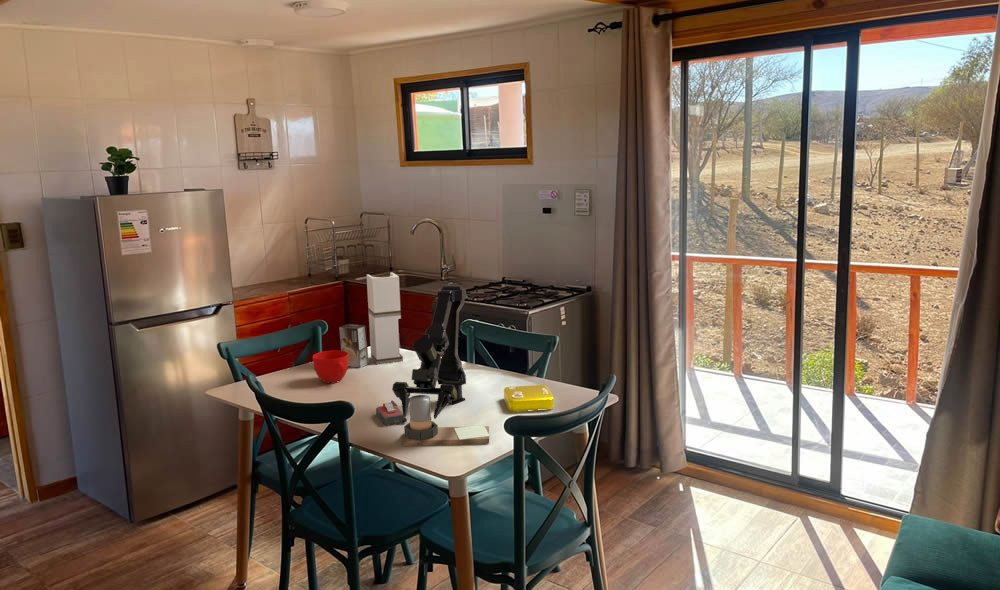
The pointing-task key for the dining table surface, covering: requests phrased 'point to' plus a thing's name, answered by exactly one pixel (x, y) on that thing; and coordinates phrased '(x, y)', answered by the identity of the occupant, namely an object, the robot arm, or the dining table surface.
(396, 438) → the dining table surface
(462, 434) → the sage pad
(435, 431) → the grey octagonal ring
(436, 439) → the walnut board
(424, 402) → the two-tone cylinder
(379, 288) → the tall white stacked column
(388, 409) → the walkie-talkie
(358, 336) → the coffee box
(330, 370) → the ceramic cup
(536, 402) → the element tile
